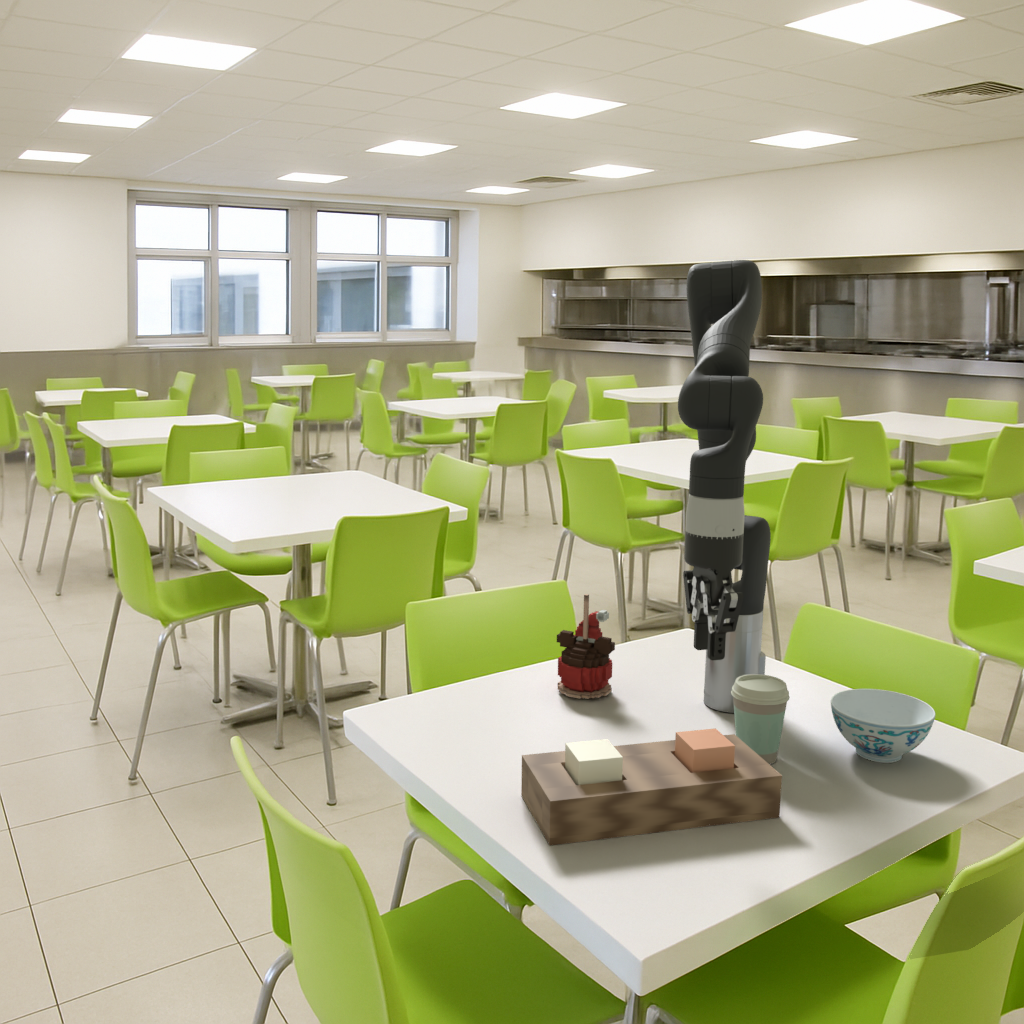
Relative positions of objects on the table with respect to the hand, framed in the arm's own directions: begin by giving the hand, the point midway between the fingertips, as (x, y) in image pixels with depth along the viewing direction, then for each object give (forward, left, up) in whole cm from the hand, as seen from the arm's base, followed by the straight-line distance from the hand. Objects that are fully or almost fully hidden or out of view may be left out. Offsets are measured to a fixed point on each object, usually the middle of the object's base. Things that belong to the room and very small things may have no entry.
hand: (708, 653), depth 136 cm
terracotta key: (0, 0, -16) cm, 16 cm away
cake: (+3, -43, -22) cm, 48 cm away
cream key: (+16, 0, -16) cm, 23 cm away
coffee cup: (-14, -11, -21) cm, 28 cm away
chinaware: (-33, -8, -21) cm, 40 cm away
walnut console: (+8, 0, -21) cm, 23 cm away
